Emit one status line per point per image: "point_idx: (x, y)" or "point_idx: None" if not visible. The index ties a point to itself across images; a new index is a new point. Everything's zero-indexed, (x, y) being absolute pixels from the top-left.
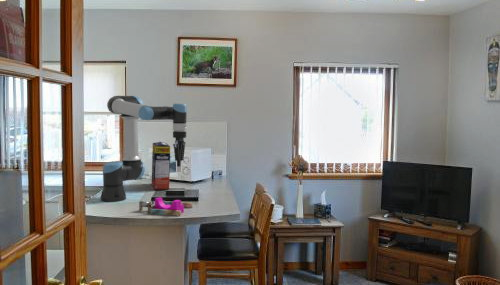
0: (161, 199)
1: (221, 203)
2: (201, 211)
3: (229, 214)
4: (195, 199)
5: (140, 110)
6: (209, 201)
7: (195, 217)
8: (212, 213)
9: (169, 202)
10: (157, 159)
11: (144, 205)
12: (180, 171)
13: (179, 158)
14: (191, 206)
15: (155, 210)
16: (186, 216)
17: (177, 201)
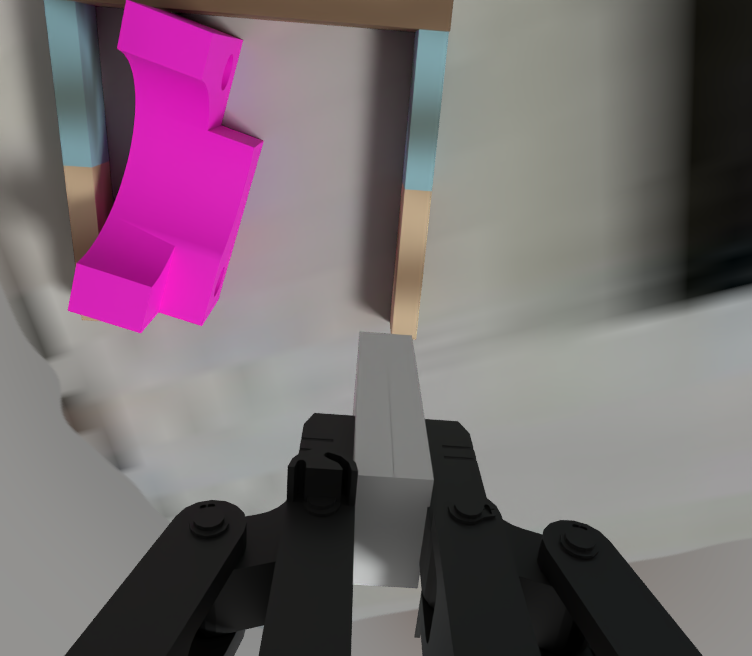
0: (188, 77)
1: (564, 506)
2: (281, 424)
3: None
4: (723, 270)
5: None
6: (636, 407)
7: (95, 426)
8: (242, 507)
9: (413, 98)
10: None
11: None
12: (353, 409)
13: (214, 645)
14: (390, 324)
15: (54, 62)
16: (99, 357)
17: (82, 314)
